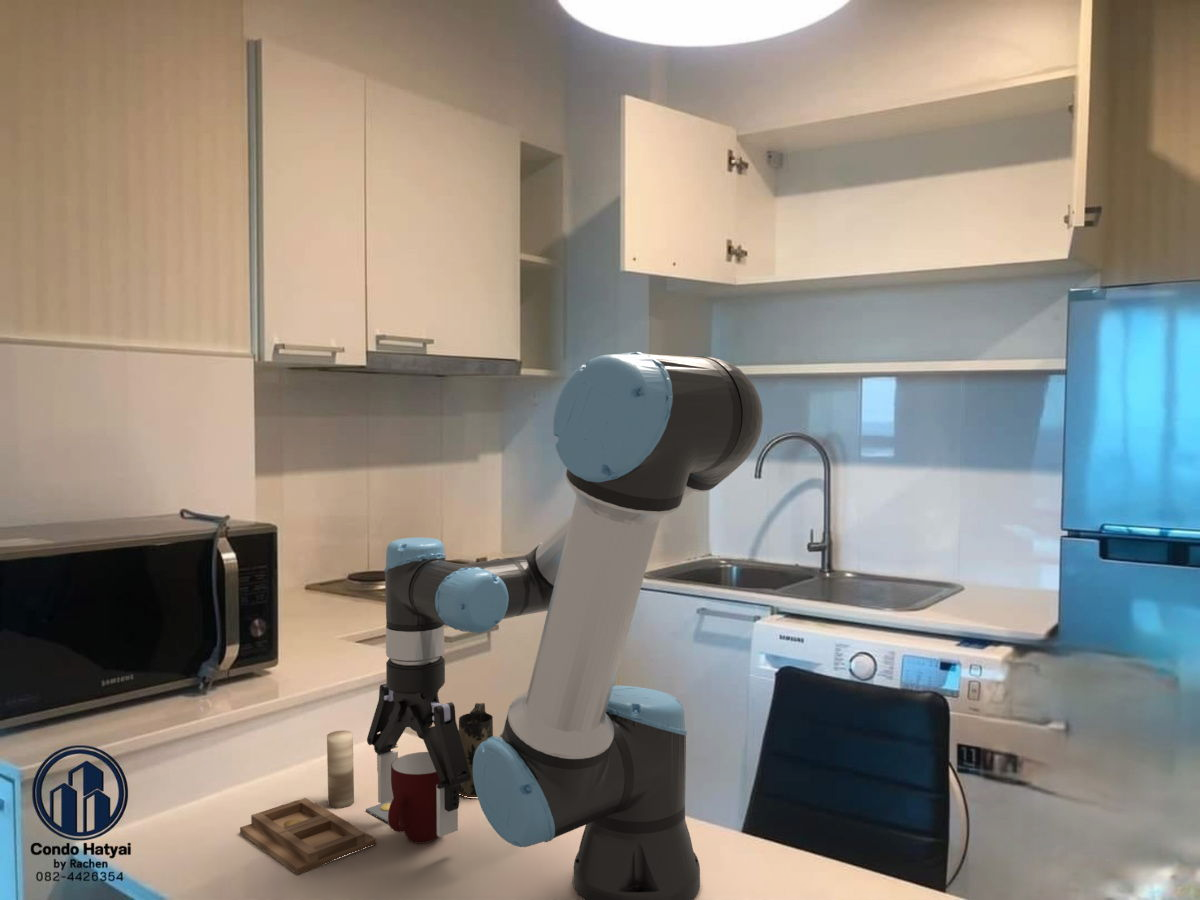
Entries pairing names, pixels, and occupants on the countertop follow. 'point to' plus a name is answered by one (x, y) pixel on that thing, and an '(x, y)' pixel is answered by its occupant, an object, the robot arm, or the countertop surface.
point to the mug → (414, 797)
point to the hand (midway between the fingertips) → (416, 816)
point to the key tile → (381, 810)
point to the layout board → (304, 835)
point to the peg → (340, 769)
